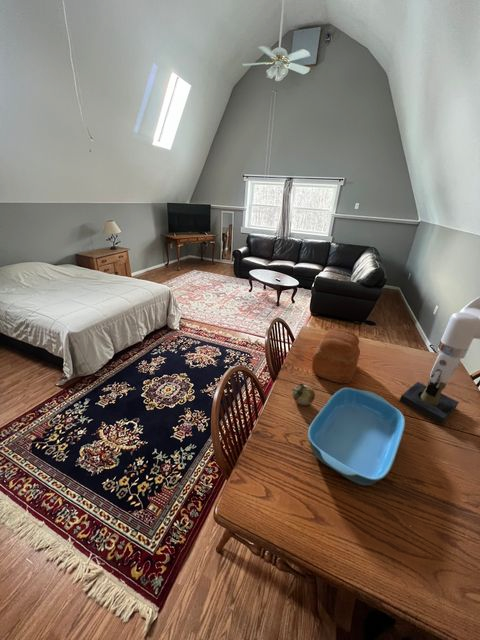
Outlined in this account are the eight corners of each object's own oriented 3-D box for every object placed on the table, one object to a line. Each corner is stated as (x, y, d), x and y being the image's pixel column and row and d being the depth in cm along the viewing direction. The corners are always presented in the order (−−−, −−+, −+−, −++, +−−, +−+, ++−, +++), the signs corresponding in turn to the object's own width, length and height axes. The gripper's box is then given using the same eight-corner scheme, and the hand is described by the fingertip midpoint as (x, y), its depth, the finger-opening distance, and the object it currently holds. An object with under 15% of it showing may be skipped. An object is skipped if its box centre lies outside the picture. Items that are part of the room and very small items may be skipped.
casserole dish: (374, 514, 64) (382, 496, 61) (292, 459, 77) (296, 441, 74) (404, 424, 91) (411, 408, 87) (340, 394, 103) (344, 379, 100)
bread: (307, 374, 114) (313, 340, 106) (320, 351, 131) (326, 320, 124) (350, 389, 106) (360, 353, 99) (357, 363, 123) (366, 330, 116)
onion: (307, 412, 94) (310, 394, 90) (287, 401, 98) (290, 384, 95) (316, 401, 99) (320, 384, 96) (297, 391, 104) (300, 374, 100)
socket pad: (455, 408, 99) (458, 402, 98) (441, 425, 91) (444, 418, 90) (415, 387, 109) (417, 381, 108) (399, 401, 101) (401, 395, 100)
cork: (435, 411, 96) (447, 387, 91) (416, 403, 100) (426, 379, 95) (438, 403, 100) (449, 379, 95) (420, 395, 104) (430, 372, 99)
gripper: (456, 362, 82) (435, 407, 90) (474, 346, 92) (453, 388, 99) (429, 351, 87) (412, 394, 95) (448, 337, 97) (431, 377, 105)
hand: (433, 390), depth 97 cm, fingers closed on cork, 5 cm apart
